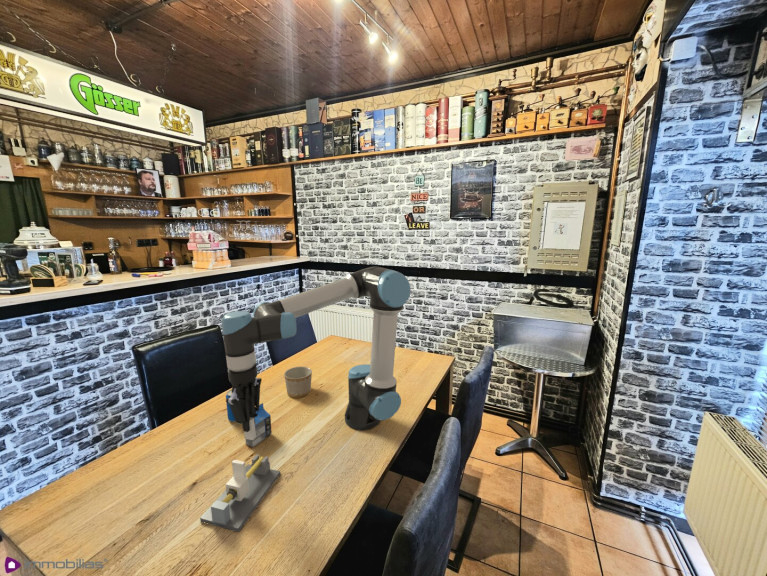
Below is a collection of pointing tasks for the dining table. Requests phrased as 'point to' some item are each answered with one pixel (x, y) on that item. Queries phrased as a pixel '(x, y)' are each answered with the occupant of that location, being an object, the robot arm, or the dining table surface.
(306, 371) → the planter
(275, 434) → the dining table surface
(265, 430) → the label tape cartridge
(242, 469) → the white slider carriage
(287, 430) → the dining table surface
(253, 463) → the linear slide rail
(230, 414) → the beverage can
